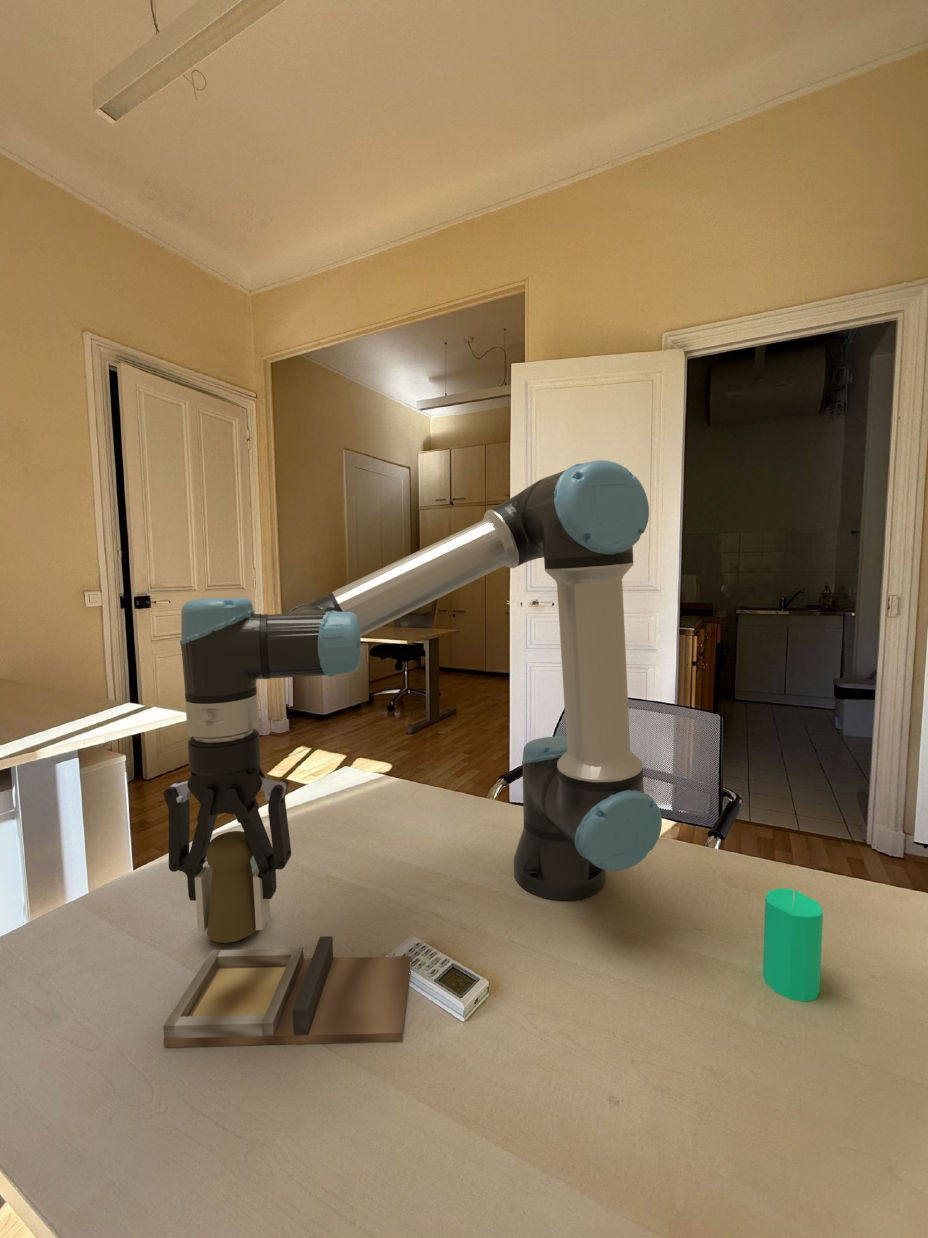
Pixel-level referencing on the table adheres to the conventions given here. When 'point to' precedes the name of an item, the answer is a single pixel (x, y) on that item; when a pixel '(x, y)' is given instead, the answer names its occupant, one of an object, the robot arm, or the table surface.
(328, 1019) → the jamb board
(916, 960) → the table surface
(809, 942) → the candle
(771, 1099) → the table surface
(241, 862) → the brown game pawn
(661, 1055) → the table surface
